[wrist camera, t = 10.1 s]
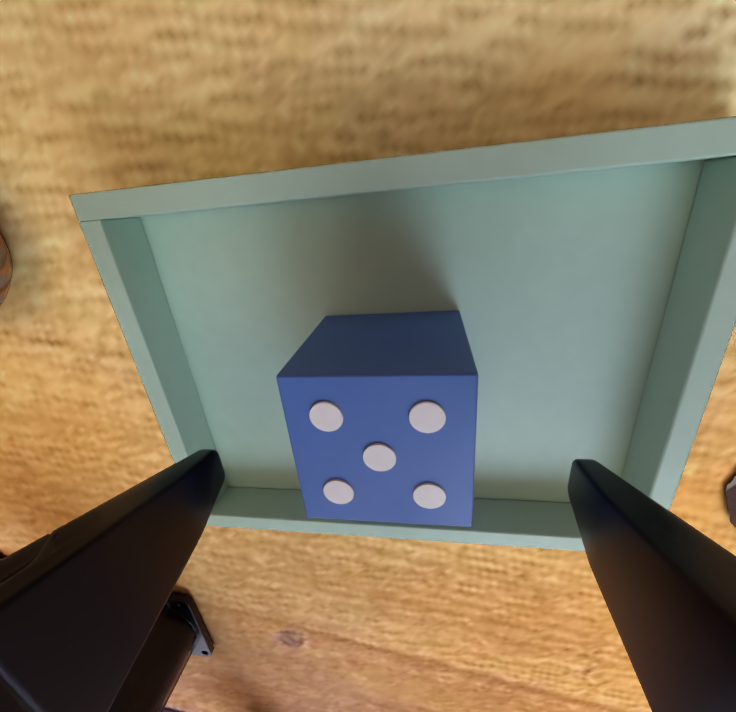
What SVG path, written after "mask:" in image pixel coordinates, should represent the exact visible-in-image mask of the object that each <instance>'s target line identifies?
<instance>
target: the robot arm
mask: <svg viewBox="0 0 736 712" xmlns="http://www.w3.org/2000/svg"><path fill="white" fill-rule="evenodd" d="M224 479H225V471H224V468H223V465H222V462H221V459H220V456H219V453H218V452H217V451H216V450H214V449H201V450H199V451H197V452H195V453H193V454H191V455H190V456H188V457H186V458H184V459H182V460H181V461H179V462H177V463H175V464H173V465H172V466H170V467H168V468H166V469H164V470H163V471H161V472H159V473H157V474H155V475H154V476H152V477H150V478H148V479H146V480H145V481H143V482H141V483H139V484H137V485H136V486H134V487H132V488H130V489H128V490H126V491H125V492H123V493H121V494H119V495H117V496H116V497H114V498H112V499H110V500H108V501H107V502H105V503H103V504H101V505H99V506H98V507H96V508H94V509H92V510H90V511H89V512H87V513H85V514H83V515H81V516H80V517H78V518H76V519H74V520H72V521H71V522H69V523H67V524H65V525H63V526H62V527H60V528H58V529H56V530H54V531H53V532H52V533H51V534H47V535H45V536H43V537H42V538H40V539H38V540H36V541H34V542H33V543H31V544H29V545H27V546H25V547H24V548H22V549H20V550H18V551H16V552H14V553H12V554H11V555H9V556H7V557H5V558H3V559H1V560H0V712H162V711H163V709H164V707H165V705H166V703H167V701H168V699H169V697H170V695H171V693H172V692H173V690H174V688H175V686H176V684H177V682H178V680H179V678H180V676H181V674H182V672H183V670H184V668H185V666H186V664H187V662H188V660H189V658H190V656H191V654H193V655H200V656H211V655H212V652H213V650H214V646H213V644H212V642H211V639H210V637H209V635H208V633H207V631H206V629H205V626H204V624H203V622H202V620H201V618H200V616H199V613H198V611H197V609H196V607H195V605H194V603H193V600H192V599H191V598H190V597H188V596H186V595H180V594H171V592H172V590H173V588H174V586H175V584H176V582H177V581H178V579H179V577H180V575H181V573H182V571H183V569H184V567H185V566H186V564H187V562H188V560H189V558H190V556H191V554H192V552H193V550H194V549H195V547H196V545H197V543H198V541H199V539H200V537H201V535H202V533H203V530H204V528H205V526H206V524H207V521H208V519H209V516H210V514H211V512H212V509H213V507H214V504H215V502H216V500H217V497H218V495H219V492H220V490H221V488H222V485H223V483H224ZM568 495H569V499H570V502H571V505H572V509H573V512H574V515H575V519H576V522H577V525H578V528H579V532H580V535H581V538H582V542H583V545H584V548H585V551H586V554H587V558H588V561H589V563H590V566H591V568H592V571H593V573H594V576H595V578H596V581H597V583H598V585H599V588H600V590H601V592H602V595H603V597H604V599H605V602H606V604H607V606H608V609H609V611H610V613H611V616H612V618H613V621H614V623H615V625H616V628H617V630H618V632H619V635H620V637H621V639H622V642H623V644H624V646H625V649H626V651H627V653H628V656H629V658H630V660H631V663H632V665H633V668H634V670H635V672H636V675H637V677H638V679H639V682H640V684H641V686H642V689H643V691H644V693H645V696H646V698H647V700H648V703H649V705H650V707H651V710H652V712H736V556H734V555H733V554H732V553H730V552H729V551H727V550H726V549H724V548H723V547H721V546H720V545H718V544H717V543H715V542H714V541H713V540H711V539H710V538H708V537H707V536H705V535H704V534H702V533H701V532H699V531H698V530H697V529H695V528H694V527H692V526H691V525H689V524H688V523H686V522H685V521H683V520H682V519H680V518H679V517H678V516H676V515H675V514H673V513H672V512H670V511H669V510H667V509H666V508H664V507H663V506H661V505H660V504H659V503H657V502H656V501H654V500H653V499H651V498H650V497H648V496H647V495H645V494H644V493H642V492H641V491H640V490H638V489H637V488H635V487H634V486H632V485H631V484H629V483H628V482H626V481H625V480H623V479H622V478H621V477H619V476H618V475H616V474H615V473H613V472H612V471H610V470H609V469H607V468H606V467H604V466H603V465H602V464H600V463H599V462H597V461H595V460H593V459H575V460H573V462H572V465H571V471H570V476H569V481H568Z"/></svg>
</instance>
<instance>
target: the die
mask: <svg viewBox="0 0 736 712" xmlns="http://www.w3.org/2000/svg"><path fill="white" fill-rule="evenodd" d="M276 379H277V384H278V388H279V393H280V397H281V402H282V406H283V411H284V415H285V420H286V424H287V429H288V433H289V438H290V442H291V447H292V452H293V456H294V461H295V465H296V470H297V474H298V479H299V483H300V488H301V492H302V497H303V501H304V506H305V510H306V515H307V517H310V518H326V519H343V520H360V521H377V522H394V523H411V524H428V525H445V526H462V527H471V526H472V520H473V496H474V471H475V447H476V422H477V398H478V371H477V368H476V365H475V361H474V358H473V355H472V351H471V348H470V344H469V341H468V338H467V334H466V331H465V328H464V324H463V321H462V318H461V314H460V311H459V310H449V311H426V312H403V313H380V314H357V315H334V316H325V317H324V318H323V320H322V321H321V322H320V323H319V325H318V326H317V327H316V328H315V329H314V331H313V332H312V333H311V334H310V335H309V337H308V338H307V339H306V340H305V342H304V343H303V344H302V345H301V346H300V348H299V349H298V350H297V351H296V352H295V354H294V355H293V356H292V357H291V359H290V360H289V361H288V362H287V363H286V365H285V366H284V367H283V368H282V369H281V371H280V372H279V373H278V374H277V376H276Z"/></svg>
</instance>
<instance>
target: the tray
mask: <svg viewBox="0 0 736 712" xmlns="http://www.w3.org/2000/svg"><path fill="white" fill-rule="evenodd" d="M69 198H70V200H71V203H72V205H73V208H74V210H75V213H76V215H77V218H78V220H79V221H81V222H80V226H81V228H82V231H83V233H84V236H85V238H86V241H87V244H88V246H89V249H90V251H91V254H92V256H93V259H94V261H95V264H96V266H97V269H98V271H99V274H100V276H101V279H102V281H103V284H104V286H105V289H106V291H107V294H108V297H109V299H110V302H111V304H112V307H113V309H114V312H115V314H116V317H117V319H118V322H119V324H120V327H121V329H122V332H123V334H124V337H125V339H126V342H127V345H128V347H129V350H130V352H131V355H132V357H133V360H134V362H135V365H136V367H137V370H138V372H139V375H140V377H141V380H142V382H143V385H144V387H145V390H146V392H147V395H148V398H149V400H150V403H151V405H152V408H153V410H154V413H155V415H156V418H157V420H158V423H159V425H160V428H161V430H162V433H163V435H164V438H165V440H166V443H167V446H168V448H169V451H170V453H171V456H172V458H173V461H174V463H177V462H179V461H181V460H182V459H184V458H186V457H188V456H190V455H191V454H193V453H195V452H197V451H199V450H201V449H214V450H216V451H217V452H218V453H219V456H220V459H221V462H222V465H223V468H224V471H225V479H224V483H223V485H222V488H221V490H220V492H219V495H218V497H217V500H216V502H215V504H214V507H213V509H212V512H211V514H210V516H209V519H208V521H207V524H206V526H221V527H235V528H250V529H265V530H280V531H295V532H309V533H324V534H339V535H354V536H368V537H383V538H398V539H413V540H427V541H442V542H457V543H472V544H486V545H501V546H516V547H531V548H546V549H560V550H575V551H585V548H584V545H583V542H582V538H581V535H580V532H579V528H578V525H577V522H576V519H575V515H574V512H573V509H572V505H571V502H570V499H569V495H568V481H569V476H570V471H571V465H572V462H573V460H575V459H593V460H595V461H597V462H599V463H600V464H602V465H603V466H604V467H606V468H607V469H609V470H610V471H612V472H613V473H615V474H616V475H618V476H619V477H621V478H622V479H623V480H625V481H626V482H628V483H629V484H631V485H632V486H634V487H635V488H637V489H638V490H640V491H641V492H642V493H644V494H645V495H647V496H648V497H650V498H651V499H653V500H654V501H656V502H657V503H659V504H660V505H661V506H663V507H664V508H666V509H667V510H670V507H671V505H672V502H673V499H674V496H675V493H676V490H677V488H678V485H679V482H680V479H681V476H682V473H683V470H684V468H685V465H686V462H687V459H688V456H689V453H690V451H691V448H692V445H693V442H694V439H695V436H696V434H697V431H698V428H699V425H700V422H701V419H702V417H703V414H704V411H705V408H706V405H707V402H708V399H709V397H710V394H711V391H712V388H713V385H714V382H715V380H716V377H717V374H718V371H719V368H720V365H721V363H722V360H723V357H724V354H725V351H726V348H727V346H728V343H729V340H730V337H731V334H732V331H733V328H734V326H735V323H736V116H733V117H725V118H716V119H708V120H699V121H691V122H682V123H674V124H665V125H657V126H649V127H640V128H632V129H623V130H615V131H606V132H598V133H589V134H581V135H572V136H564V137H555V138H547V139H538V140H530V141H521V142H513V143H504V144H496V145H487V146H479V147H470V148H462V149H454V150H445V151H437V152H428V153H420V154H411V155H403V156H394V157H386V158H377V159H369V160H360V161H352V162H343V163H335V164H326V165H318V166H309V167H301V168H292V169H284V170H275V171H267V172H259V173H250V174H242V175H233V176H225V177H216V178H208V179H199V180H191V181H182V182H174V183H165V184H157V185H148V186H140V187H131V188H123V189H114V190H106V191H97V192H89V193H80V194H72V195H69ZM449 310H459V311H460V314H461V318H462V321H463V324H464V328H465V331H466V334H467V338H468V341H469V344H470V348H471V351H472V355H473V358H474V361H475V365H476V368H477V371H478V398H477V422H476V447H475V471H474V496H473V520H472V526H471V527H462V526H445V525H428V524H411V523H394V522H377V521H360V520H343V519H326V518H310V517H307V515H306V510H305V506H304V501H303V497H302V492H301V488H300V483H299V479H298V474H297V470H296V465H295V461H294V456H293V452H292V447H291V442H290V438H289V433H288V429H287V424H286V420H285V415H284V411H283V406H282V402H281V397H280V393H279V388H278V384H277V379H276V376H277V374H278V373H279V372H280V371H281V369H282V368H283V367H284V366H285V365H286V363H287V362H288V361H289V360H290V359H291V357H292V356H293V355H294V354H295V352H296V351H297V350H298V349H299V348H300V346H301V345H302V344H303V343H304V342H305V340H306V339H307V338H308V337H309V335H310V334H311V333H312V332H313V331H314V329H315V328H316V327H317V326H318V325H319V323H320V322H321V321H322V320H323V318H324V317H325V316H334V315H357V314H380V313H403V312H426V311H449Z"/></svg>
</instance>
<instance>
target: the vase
mask: <svg viewBox="0 0 736 712" xmlns="http://www.w3.org/2000/svg"><path fill="white" fill-rule="evenodd" d="M11 277H12V262H11V258H10V254H9V251H8V249H7V246H6V244H5V242H4V240H3V238H2V237H1V235H0V305H1V304H2V302H3V301H4V299H5V297H6V295H7V293H8V289H9V286H10V282H11Z"/></svg>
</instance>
